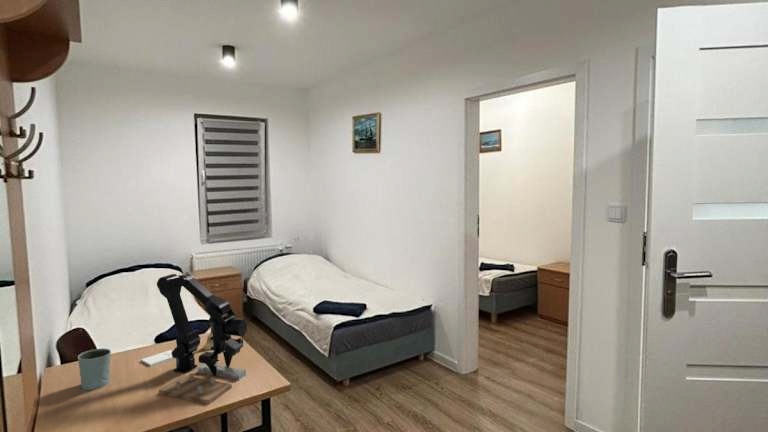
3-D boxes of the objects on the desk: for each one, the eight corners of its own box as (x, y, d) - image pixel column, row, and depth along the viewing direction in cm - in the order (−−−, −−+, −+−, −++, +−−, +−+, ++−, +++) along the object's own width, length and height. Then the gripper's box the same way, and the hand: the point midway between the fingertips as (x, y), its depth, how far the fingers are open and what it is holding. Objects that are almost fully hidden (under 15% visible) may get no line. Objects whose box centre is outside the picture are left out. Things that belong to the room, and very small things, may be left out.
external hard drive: (140, 363, 176) (170, 353, 186) (150, 368, 172) (179, 357, 182) (140, 359, 176) (170, 349, 186) (150, 364, 172) (179, 354, 182)
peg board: (158, 393, 150) (158, 383, 150) (184, 378, 162) (183, 368, 161) (208, 404, 144) (208, 393, 143) (231, 387, 155) (231, 377, 155)
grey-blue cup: (73, 388, 154) (71, 356, 153) (100, 375, 163) (98, 346, 162) (92, 393, 150) (90, 361, 149) (118, 380, 160) (117, 350, 159)
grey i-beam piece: (197, 372, 167) (197, 366, 166) (205, 368, 171) (205, 362, 171) (238, 380, 161) (238, 374, 161) (246, 375, 165) (245, 369, 165)
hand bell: (226, 343, 196) (225, 310, 194) (215, 351, 188) (214, 316, 186) (210, 342, 197) (208, 309, 196) (199, 349, 189) (198, 315, 188)
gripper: (221, 345, 153) (222, 385, 154) (252, 327, 171) (253, 364, 172) (196, 341, 156) (198, 380, 158) (229, 324, 174) (230, 360, 176)
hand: (221, 371), depth 166 cm, fingers open, 7 cm apart
